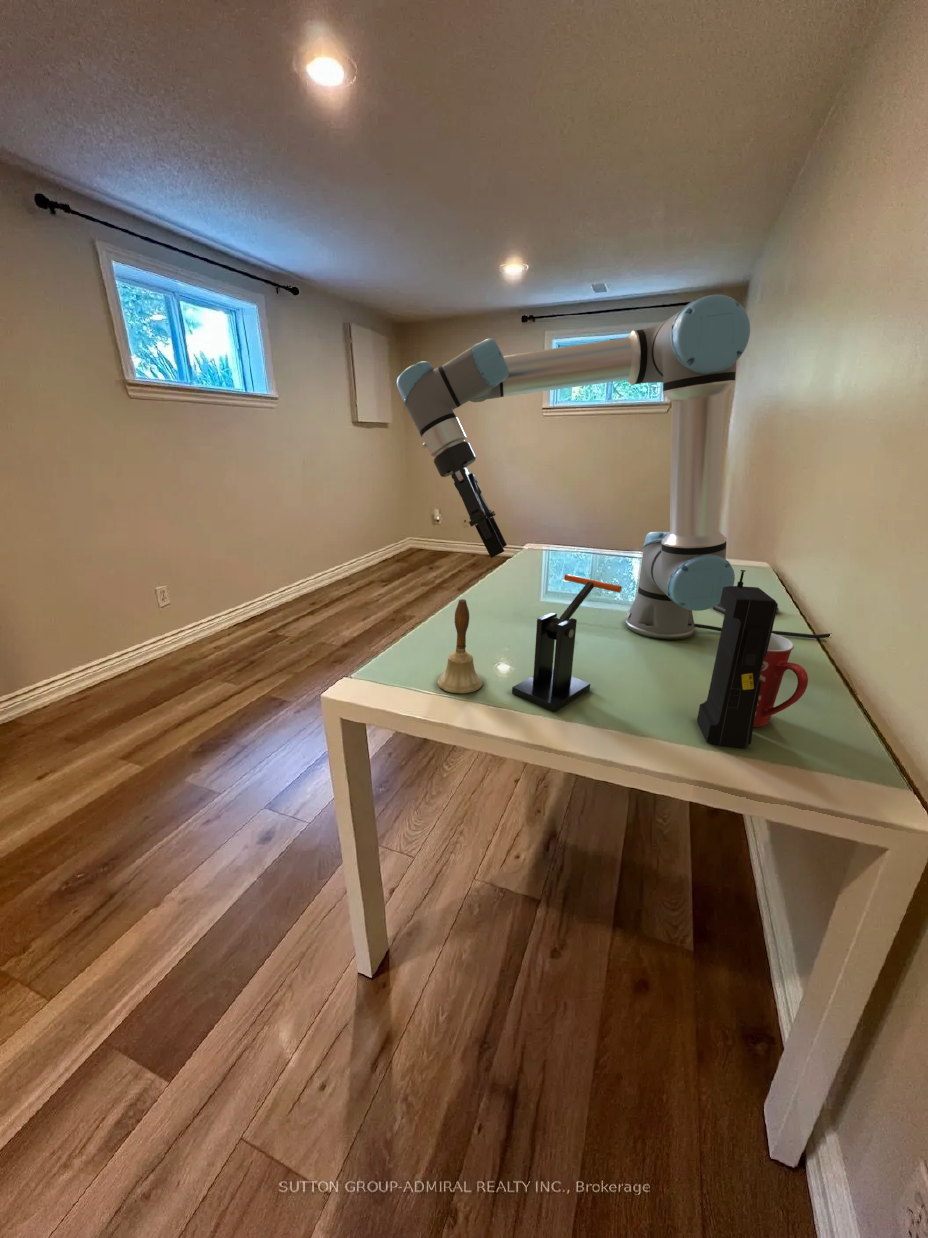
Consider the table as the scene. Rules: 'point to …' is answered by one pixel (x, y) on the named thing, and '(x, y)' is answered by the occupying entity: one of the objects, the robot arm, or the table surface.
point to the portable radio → (738, 666)
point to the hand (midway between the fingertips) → (499, 551)
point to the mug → (777, 679)
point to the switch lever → (578, 600)
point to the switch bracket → (547, 683)
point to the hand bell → (460, 659)
